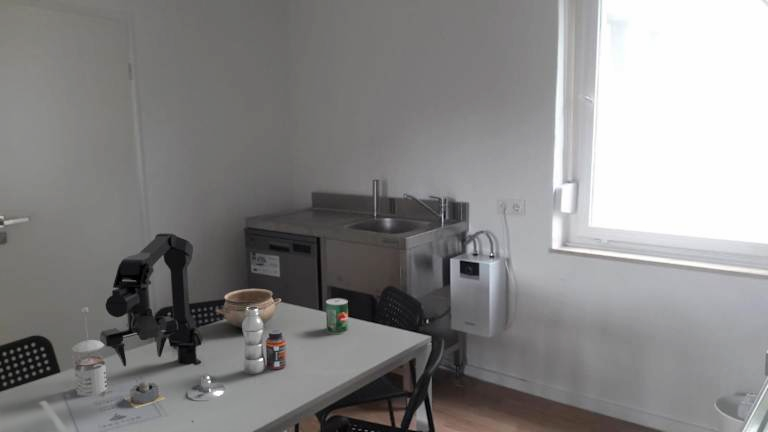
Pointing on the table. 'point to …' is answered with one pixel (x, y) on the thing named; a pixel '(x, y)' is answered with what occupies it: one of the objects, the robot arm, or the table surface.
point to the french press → (89, 367)
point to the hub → (206, 390)
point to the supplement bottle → (275, 350)
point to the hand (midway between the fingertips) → (142, 361)
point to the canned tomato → (337, 315)
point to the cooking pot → (248, 305)
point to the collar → (144, 394)
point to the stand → (143, 387)
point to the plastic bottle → (253, 342)
